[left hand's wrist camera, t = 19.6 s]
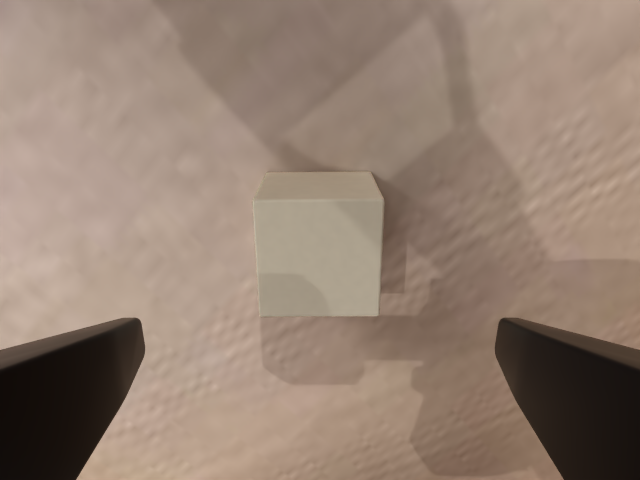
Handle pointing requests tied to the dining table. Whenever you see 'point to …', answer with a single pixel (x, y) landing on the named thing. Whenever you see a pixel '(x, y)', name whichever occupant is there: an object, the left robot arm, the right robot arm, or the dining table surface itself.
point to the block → (318, 244)
